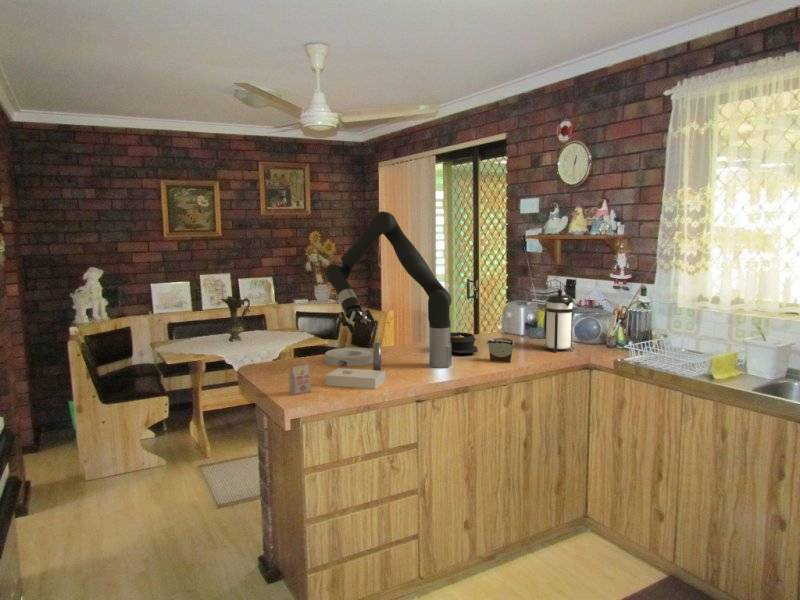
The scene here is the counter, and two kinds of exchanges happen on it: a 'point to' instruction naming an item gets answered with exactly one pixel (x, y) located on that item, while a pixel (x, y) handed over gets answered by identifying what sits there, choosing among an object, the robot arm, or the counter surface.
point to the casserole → (462, 343)
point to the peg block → (355, 378)
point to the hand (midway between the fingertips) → (362, 331)
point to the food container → (500, 349)
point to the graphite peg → (377, 356)
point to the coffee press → (558, 321)
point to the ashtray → (349, 356)
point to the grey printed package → (299, 380)
